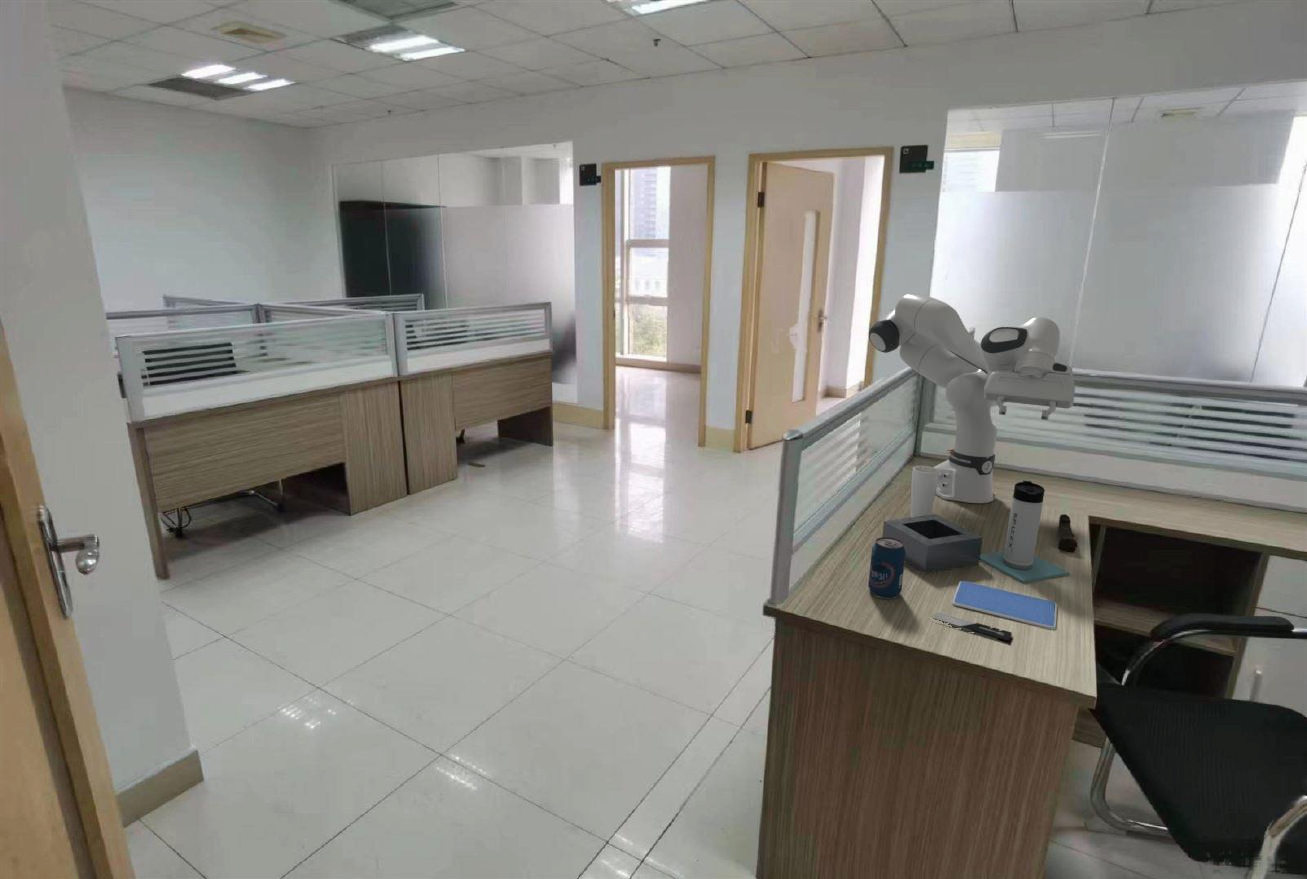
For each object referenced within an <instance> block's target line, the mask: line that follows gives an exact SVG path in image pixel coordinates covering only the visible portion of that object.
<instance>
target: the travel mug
mask: <svg viewBox="0 0 1307 879" xmlns="http://www.w3.org/2000/svg"><path fill="white" fill-rule="evenodd" d="M1045 490H1046V489H1045V488H1044V487H1043V486H1041V485H1040V484H1038V483H1034V482H1032V481H1031V480H1022V481H1019V482H1016V483H1015V484H1014V488H1013V495H1012V500H1011V505H1010V506H1011V507H1010V511H1009V512H1010V513H1009V518H1008V519H1009V520H1008V525H1007V526H1008V527H1007V531H1006V532H1007V533H1006V537H1005V538H1006V539H1005V544H1004V545H1005V546H1004V550H1003V551H1004V557H1003V562H1004V564H1006V565H1007V566H1009V567H1011V568H1015V569H1020V570H1027V569H1030V568H1032V565H1033V559H1034V555H1035V553H1036V546H1037V541H1038V534H1039V528H1040V524H1041V523H1040V522H1041V516H1042V510H1043V503H1044V496H1045V492H1046V491H1045Z"/></svg>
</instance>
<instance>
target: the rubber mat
mask: <svg viewBox="0 0 1307 879" xmlns="http://www.w3.org/2000/svg"><path fill="white" fill-rule="evenodd" d="M1003 557H1004V550H1003V551H997V552H992V553H986V554H980V560H979V562H980V561H981V562H983V563H984V564H986V565H988V566H989V567H992V568H994V569H995V570H997V571H1000V572H1001V573H1003V574H1005V575H1006V576H1009V577H1011V578H1013V579H1014V580H1016V581H1018V582H1019V583H1022V584H1026V583H1031V582H1037V581H1042V580H1043V581H1044V580H1047V579H1048V580H1049V579H1051V578H1052V579H1053V578H1058V577H1063V576H1068V575H1069V576H1070V572H1069V571H1068V570H1066V569H1064V568H1062V567H1060V566H1057V565H1055V564H1053V563H1051V562H1049V561H1047V560H1045V559H1043V558H1041V557H1039V556H1037V555H1035V554H1034V559H1033V565H1032V568H1030V569H1027V570H1020V569H1015V568H1011V567H1009V566H1007V565H1006V564H1004V562H1003Z"/></svg>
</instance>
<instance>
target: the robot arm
mask: <svg viewBox="0 0 1307 879" xmlns="http://www.w3.org/2000/svg"><path fill="white" fill-rule="evenodd" d="M1060 337H1061V334H1060V328H1059V326H1058V325H1057V323H1056V322H1054V321H1053V320H1052V319H1050V318H1047V317H1043V316H1036V317H1032V318H1031V319H1029V320H1028V321H1026V322H1024V323H1021V324H1019V325H1015V326H999V327H995V328H993V329H991V330H989V331H988V332H987V333H985V335H984V336H983V337H982V339H981V341H980V342H979V341H977V340H976V339H975V338H974V337H973V336H972V335H971V334H970V333H969V331H968V329H967V328H966V326H965V323H964V322H963V320H962V318H961V316H960V315H959V313H958V311H957V310H956V308H953V307H952V306H951V305H950V304H948V303H947V302H945V301H942V300H939V299H937V298H934V297H932V296H928V295H924V294H920V293H919V294H918V293H907V294H905V295H903V296H902V297H900V298H899V299H898V301H897V303H895V307H894V308H892V309H890V311H889V312H888V313H886V314H885V315H884V316H882V318H880V319H879V320H878V321H876V322H875V323H873V325H872V326H871V327H870V329H869V331H868V338H869V341H870V343H871V345H872V346H873V348H874V349H876V350H877V351H879V352H881V353H884V354H888V353H891V352H893V351H895V350H897V349H898V348H899V347H900V348H899V357H900V359H901V360H902V362H904V363H905V364H906V365H907V366H909V368H910V369H912V370H914V371H915V372H916V373H917V374H919V375H920V376H922V377H924V378H926V379H927V380H929V381H930V382H932V383H933V384H935V385H936V386H939V387H941V388H944V389H945V397H946V400H947V402H948V404H949V405H950V406H951V407H952V408H953V412H954V416H955V421H956V429H955V431H956V432H955V440H954V442H955V443H954V448H953V449H947V450H946V451H947V452H946V454H949V457H948V459H946V460H944V461H942V462H941V463H938V464H937V465H935V466H932V467H933V468H936V469H938V470H939V477H938V485H937V490H936V494H935V496H936V495H937V496H938V497H940V498H941V499H943V500H947V501H948V500H949V501H957V502H962V503H968V504H969V503H970V504H971V503H972V504H987V503H990V502H993V501H994V490H993V479H994V478H993V475H994V474H993V473H994V472H993V469H994V466H995V461H996V454H995V448H996V442H997V441H996V440H997V435H998V434H997V433H998V429H997V427H996V426H995V425H994V424H993V422H992V417H991V408H992V407H998V408H999V409H998V414H999V415H1003V416H1006V415H1007V410H1008V406H1007V405H1003V404H1005V403H1012V404H1022V405H1032V406H1038V407H1039V406H1041V407H1048V408H1047V409H1046V410H1045V409H1043V410H1042V412H1041V418H1040V420H1044V421H1048V420H1049V417H1050V415H1052V414H1053V412H1055V411H1056V408H1059V409H1067V410H1068V409H1070V408H1072V407H1073V406H1074V402H1075V394H1076V393H1075V392H1076V391H1075V390H1076V389H1075V388H1076V386H1075V380H1074V378H1073V376H1074V373H1073V372H1074V371H1073V367H1072V366H1070V365H1066V364H1064V363H1060V362H1059V361H1058V362H1057V361H1056V360H1055V358H1056V356H1057V354H1058V350H1059V346H1060Z"/></svg>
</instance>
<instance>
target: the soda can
mask: <svg viewBox="0 0 1307 879" xmlns="http://www.w3.org/2000/svg"><path fill="white" fill-rule="evenodd" d="M870 554H871V555H870V556H871V557H870V565H869V574H868V588H869V590H870V592H871V594H872V593H873V594H874V595H873V594H872V595H873V596H875V595H876V596H875V597H877V596H878V597H877V598H880V597H882V598H881V599H884V598H893V599H895V598H894V597H896V598H897V597H898V596H899V595H900V594H901V592H902V590H903V581H904V572H905V563H906V562H905V554H906V551H905V549H904V544H903V542H902V541H900V540H898V539H895V538H890V537H878V538H876V539H875V542H874V543H873V545H872V546H871V553H870Z"/></svg>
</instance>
